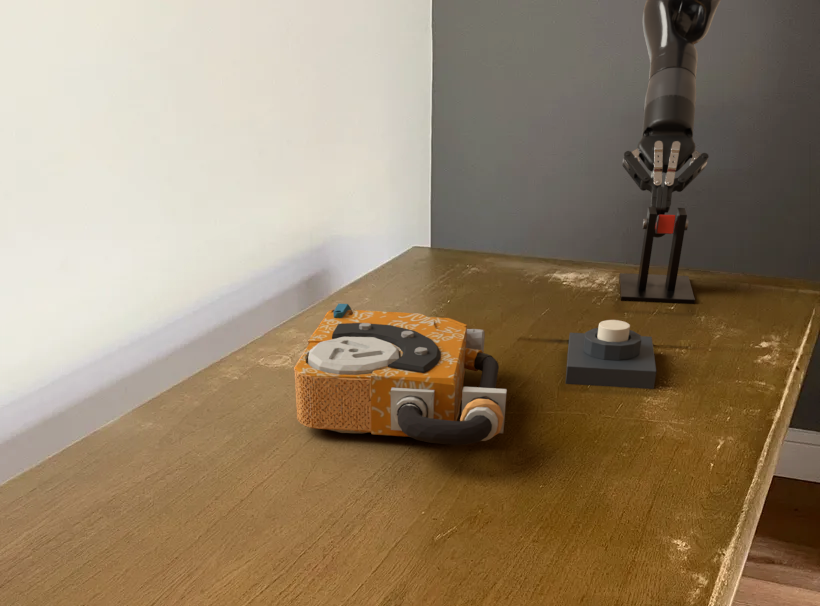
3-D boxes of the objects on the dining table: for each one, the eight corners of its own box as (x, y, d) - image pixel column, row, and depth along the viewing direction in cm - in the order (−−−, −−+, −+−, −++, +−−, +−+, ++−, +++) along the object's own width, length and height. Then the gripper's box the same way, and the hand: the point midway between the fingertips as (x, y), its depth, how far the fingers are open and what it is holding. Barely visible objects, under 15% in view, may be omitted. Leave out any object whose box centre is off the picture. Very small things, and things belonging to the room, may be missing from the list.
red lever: (645, 237, 146) (648, 214, 145) (666, 238, 146) (669, 215, 144) (652, 236, 133) (655, 211, 132) (676, 236, 133) (679, 211, 132)
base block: (567, 349, 121) (571, 318, 119) (649, 353, 120) (654, 322, 117) (565, 384, 112) (568, 351, 109) (653, 389, 110) (659, 355, 108)
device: (517, 300, 111) (504, 398, 87) (511, 368, 116) (498, 480, 92) (326, 293, 115) (262, 385, 90) (329, 359, 119) (269, 465, 95)
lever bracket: (618, 283, 145) (629, 200, 138) (686, 285, 143) (700, 202, 137) (619, 307, 135) (631, 219, 129) (693, 310, 134) (708, 221, 127)
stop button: (597, 333, 115) (598, 318, 114) (627, 334, 115) (629, 320, 114) (597, 343, 112) (598, 328, 111) (628, 345, 112) (630, 330, 111)
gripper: (627, 92, 144) (617, 197, 141) (719, 93, 141) (710, 200, 138) (622, 125, 151) (612, 225, 148) (709, 127, 149) (701, 229, 146)
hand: (660, 213), depth 143 cm, fingers closed
